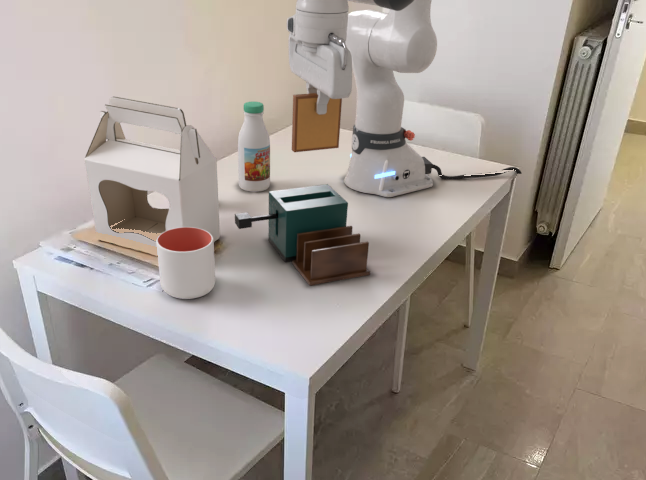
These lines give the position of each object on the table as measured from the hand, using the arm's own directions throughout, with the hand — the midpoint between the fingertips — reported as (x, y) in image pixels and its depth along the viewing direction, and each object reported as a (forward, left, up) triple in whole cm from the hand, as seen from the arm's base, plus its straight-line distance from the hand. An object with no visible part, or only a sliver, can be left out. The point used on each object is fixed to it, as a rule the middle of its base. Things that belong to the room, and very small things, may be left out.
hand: (317, 111), depth 120 cm
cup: (+27, +6, -29) cm, 40 cm away
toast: (0, 0, -7) cm, 7 cm away
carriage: (+5, -2, -22) cm, 22 cm away
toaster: (0, -2, -28) cm, 29 cm away
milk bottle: (0, -36, -29) cm, 46 cm away
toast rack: (-1, +8, -28) cm, 30 cm away
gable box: (+28, -15, -29) cm, 43 cm away
